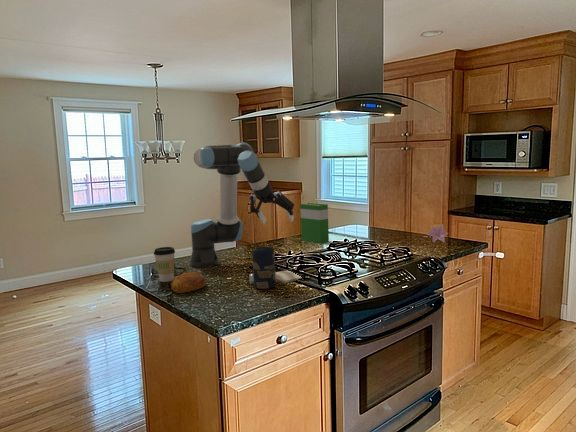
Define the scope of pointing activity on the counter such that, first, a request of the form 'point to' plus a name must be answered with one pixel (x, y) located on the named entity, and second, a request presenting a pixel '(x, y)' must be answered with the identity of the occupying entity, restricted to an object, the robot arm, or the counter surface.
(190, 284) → the bread loaf
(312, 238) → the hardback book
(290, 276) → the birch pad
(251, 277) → the metal slug
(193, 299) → the counter surface
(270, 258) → the canister
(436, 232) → the lily
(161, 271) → the coffee cup
